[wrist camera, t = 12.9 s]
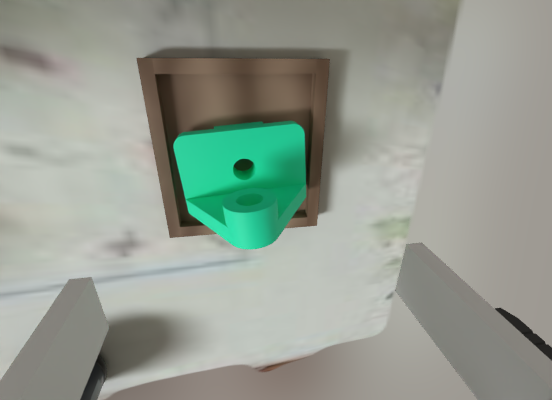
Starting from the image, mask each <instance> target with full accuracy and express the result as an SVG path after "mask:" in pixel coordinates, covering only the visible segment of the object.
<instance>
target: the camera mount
mask: <svg viewBox="0 0 552 400" xmlns="http://www.w3.org/2000/svg"><path fill="white" fill-rule="evenodd" d="M173 148H174V152H175V157H176V161H177V165H178V169H179V174H180V178H181V182H182V186H183V190H184V195H185V199H186V203H187V207H188V212H189V214H191V215H192V216H194V217H195V218H196V219H198V220H199V221H200V222H202V223H203V224H205V225H206V226H207V227H209V228H210V229H211V230H213V231H214V232H216V233H217V234H218V235H220V236H221V237H222V238H224V239H225V240H227V241H228V242H229V243H231V244H232V245H234V246H235V247H238V248H241V249H258V248H262V247H265V246H268V245H270V244H271V243H273V242H274V241H275V240H276V239H277V238H278V237H279V235H280V234H281V232H282V231H283V230H284V228H285V227H286V225H287V224H288V222H289V221H290V220H291V218H292V217H293V215H294V214H295V212H296V211H297V209H298V208H299V207H300V205H301V204H302V202H303V201H304V199H305V198H306V168H305V133H304V130H303V128H302V127H301V126H300V125H299V124H297V123H296V122H294V121H283V122H273V123H264V124H263V122H262V121H261V122H252V123H242V124H233V125H223V126H214V129H208V130H198V131H189V132H183V133H181V134H179V135H178V137H177V138H176V140H175V142H174V145H173ZM240 159H249V160H251V161H252V162H253V165H252V166H251V168H250V169H248V170H246V171H240V170H237V169H236V168H235V167H234V164H235V163H236V162H237V161H238V160H240Z"/></svg>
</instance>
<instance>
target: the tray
mask: <svg viewBox="0 0 552 400" xmlns="http://www.w3.org/2000/svg"><path fill="white" fill-rule="evenodd" d="M137 63H138V69H139V74H140V79H141V85H142V90H143V95H144V101H145V106H146V112H147V117H148V122H149V128H150V133H151V138H152V144H153V149H154V155H155V160H156V165H157V171H158V176H159V182H160V187H161V192H162V198H163V203H164V208H165V214H166V219H167V225H168V230H169V235H170V238H173V237H185V236H197V235H209V234H217V233H216V232H214V231H213V230H211V229H210V228H209V227H207V226H206V225H205V224H203V223H202V222H200V221H199V220H198V219H196V218H195V217H194V216H192V215H191V214H189V212H188V207H187V203H186V199H185V195H184V190H183V186H182V182H181V178H180V174H179V169H178V165H177V161H176V157H175V152H174V148H173V145H174V142H175V140H176V138H177V137H178V135H179V134H181V133H183V132H189V131H198V130H208V129H214V126H223V125H233V124H242V123H252V122H261V121H262V122H263V124H264V123H273V122H283V121H294V122H296V123H297V124H299V125H300V126H301V127H302V128H303V130H304V133H305V168H306V198H305V199H304V201H303V202H302V204H301V205H300V207H299V208H298V209H297V211H296V212H295V214H294V215H293V217H292V218H291V220H290V221H289V222H288V224H287V225H286V227H285V228H294V227H306V226H317V218H318V205H319V192H320V179H321V166H322V153H323V140H324V127H325V115H326V102H327V89H328V76H329V63H330V59H242V58H137ZM252 165H253V162H252V161H251V160H249V159H240V160H238V161H237V162H236V163H235V164H234V167H235V168H236V169H237V170H240V171H246V170H248V169H250V168H251V166H252Z"/></svg>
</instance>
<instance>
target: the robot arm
mask: <svg viewBox="0 0 552 400" xmlns="http://www.w3.org/2000/svg"><path fill="white" fill-rule="evenodd" d="M395 291H396V292H397V294H398V295H399V296H400V297H401V299H402V300H403V302H404V303H405V304H406V306H407V307H408V308H409V309H410V311H411V312H412V313H413V315H414V316H415V317H416V319H417V320H418V321H419V323H420V324H421V325H422V327H423V328H424V329H425V331H426V332H427V333H428V335H429V336H430V337H431V339H432V340H433V341H434V343H435V344H436V345H437V347H438V348H439V349H440V351H441V352H442V353H443V354H444V356H445V357H446V358H447V360H448V361H449V362H450V364H451V365H452V366H453V368H454V369H455V370H456V372H457V373H458V374H459V376H460V377H461V378H462V380H463V381H464V382H465V384H466V385H467V386H468V388H469V389H470V390H471V391H472V393H473V394H474V396H475V397H476V398H477V400H552V348H551V347H550V346H549V345H546V344H545V341H544V340H542V339H541V338H540V337H539V336H538V335H537V334H534V333H533V332H532V330H531V329H530V328H529V327H527V326H526V325H525V324H524V323H523V322H522V321H521V320H519V319H518V318H517V317H515V316H513V315H512V314H510V313H508V312H507V311H505V310H503V309H501V308H495V309H494V308H493V307H492V306H491V305H490V304H489V303H488V302H486V301H485V300H484V299H483V298H482V297H481V296H480V295H479V294H478V293H476V292H475V291H474V290H473V289H472V288H471V287H470V286H469V285H468V284H467V283H466V282H465V281H463V280H462V279H461V278H460V277H459V276H458V275H457V274H456V273H455V272H454V271H452V270H451V269H450V268H449V267H448V266H447V265H446V264H445V263H444V262H442V261H441V260H440V259H439V258H438V257H437V256H436V255H435V254H434V253H433V252H432V251H431V250H429V249H428V248H427V247H426V246H425V245H424V244H423V243H413V244H406V248H405V252H404V256H403V260H402V265H401V269H400V273H399V277H398V281H397V285H396V289H395ZM108 330H109V326H108V323H107V320H106V317H105V314H104V312H103V309H102V306H101V303H100V300H99V297H98V295H97V292H96V289H95V286H94V283H93V280H92V278H91V277H88V278H78V279H69V281H68V282H67V284H66V285H65V286H64V288H63V289H62V291H61V292H60V294H59V295H58V297H57V298H56V300H55V301H54V303H53V304H52V306H51V307H50V309H49V310H48V311H47V313H46V314H45V316H44V317H43V319H42V320H41V322H40V323H39V325H38V326H37V328H36V329H35V331H34V332H33V333H32V335H31V336H30V338H29V339H28V341H27V342H26V344H25V345H24V347H23V348H22V350H21V351H20V353H19V354H18V356H17V357H16V358H15V360H14V361H13V363H12V364H11V366H10V367H9V369H8V370H7V372H6V373H5V375H4V376H3V378H2V379H1V381H0V400H80V399H81V396H82V394H83V391H84V389H85V386H86V384H87V381H88V379H89V377H90V374H91V372H92V369H93V367H94V364H95V362H96V359H97V357H98V355H99V352H100V350H101V347H102V345H103V342H104V340H105V337H106V335H107V333H108Z"/></svg>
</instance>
